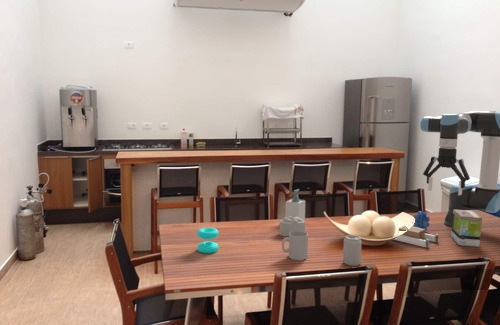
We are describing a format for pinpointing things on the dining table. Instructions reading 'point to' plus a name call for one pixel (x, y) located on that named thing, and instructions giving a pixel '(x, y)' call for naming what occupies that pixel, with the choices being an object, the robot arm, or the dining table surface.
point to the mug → (297, 245)
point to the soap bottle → (295, 207)
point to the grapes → (421, 220)
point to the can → (352, 250)
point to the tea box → (466, 227)
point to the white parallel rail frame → (419, 240)
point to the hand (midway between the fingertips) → (444, 192)
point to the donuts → (207, 245)
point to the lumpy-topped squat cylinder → (291, 225)
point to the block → (414, 232)
